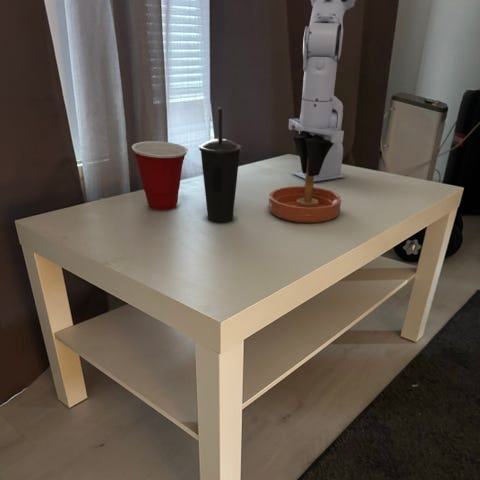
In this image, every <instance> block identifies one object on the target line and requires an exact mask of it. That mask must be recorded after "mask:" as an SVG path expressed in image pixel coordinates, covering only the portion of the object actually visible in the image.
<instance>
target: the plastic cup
mask: <svg viewBox="0 0 480 480" xmlns="http://www.w3.org/2000/svg"><path fill="white" fill-rule="evenodd" d="M131 150H132V151H133V153H134V156H135V160H136V164H137V166H138V171H139V176H140V179H141V184H142V187H143V191H144V194H145V198H146V202H147V204H148V207H149V208H150V209H152V210H155V211H169V210H173V209H175V208H176V207H177V205H178V202H179V201H178V199H179V191H180V187H181V180H182V179H181V178H182V171H183V165H184V161H185V157H186V155H187V154H188V148H187V147H186V146H184V145H181V144H179V143H173V142H168V141H159V140H157V141H156V140H155V141H154V140H153V141H152V140H151V141H140V142H136V143H133V144H132V145H131Z"/></svg>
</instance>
